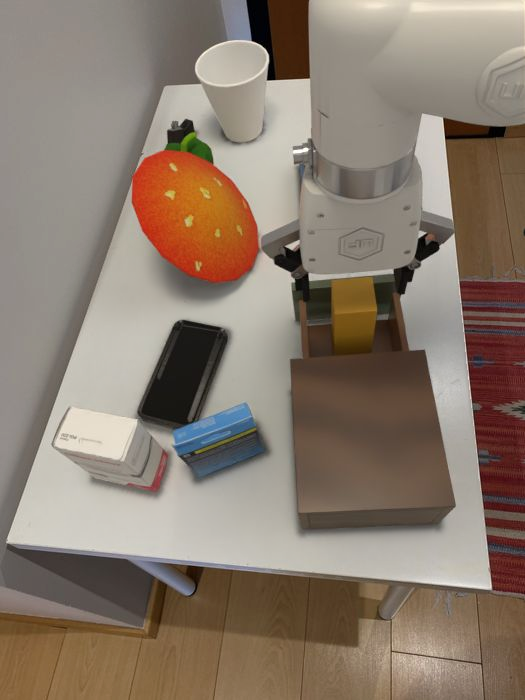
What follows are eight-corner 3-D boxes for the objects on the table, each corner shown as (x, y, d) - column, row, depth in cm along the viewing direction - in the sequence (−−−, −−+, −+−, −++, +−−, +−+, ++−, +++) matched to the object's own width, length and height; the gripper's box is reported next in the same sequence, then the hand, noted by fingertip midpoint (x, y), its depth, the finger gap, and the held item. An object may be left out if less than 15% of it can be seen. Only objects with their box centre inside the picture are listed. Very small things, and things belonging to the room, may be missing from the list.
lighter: (185, 148, 94) (184, 117, 91) (195, 149, 93) (195, 118, 91) (163, 154, 87) (162, 121, 84) (174, 155, 86) (174, 122, 84)
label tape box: (255, 424, 64) (240, 383, 53) (267, 454, 62) (253, 417, 51) (189, 450, 63) (160, 414, 52) (199, 481, 61) (170, 450, 50)
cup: (226, 103, 95) (212, 36, 84) (286, 112, 91) (279, 43, 81) (200, 146, 90) (182, 80, 79) (262, 157, 87) (252, 90, 76)
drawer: (294, 307, 70) (290, 274, 64) (394, 298, 69) (401, 264, 62) (301, 422, 62) (297, 398, 56) (415, 415, 61) (425, 389, 54)
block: (365, 332, 66) (372, 276, 55) (369, 362, 64) (377, 310, 53) (331, 335, 66) (331, 280, 56) (334, 365, 64) (334, 314, 53)
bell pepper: (178, 216, 82) (160, 167, 74) (166, 183, 86) (147, 133, 78) (227, 199, 83) (214, 149, 74) (213, 167, 87) (200, 116, 78)
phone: (228, 328, 69) (190, 430, 63) (229, 333, 70) (192, 433, 64) (175, 318, 71) (133, 415, 65) (177, 322, 72) (136, 418, 66)
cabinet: (295, 392, 65) (289, 358, 57) (413, 384, 64) (425, 349, 56) (302, 529, 57) (297, 513, 49) (438, 524, 56) (456, 506, 48)
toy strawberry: (152, 306, 74) (113, 238, 61) (176, 201, 84) (147, 122, 71) (252, 307, 72) (234, 236, 59) (265, 199, 82) (252, 117, 69)
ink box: (171, 452, 63) (139, 418, 53) (158, 492, 61) (122, 465, 51) (108, 439, 65) (65, 404, 55) (93, 478, 63) (46, 449, 52)
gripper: (248, 201, 37) (270, 323, 52) (493, 178, 36) (443, 311, 51) (247, 132, 41) (268, 265, 56) (469, 109, 39) (430, 252, 54)
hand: (351, 287), depth 53 cm, fingers open, 9 cm apart
